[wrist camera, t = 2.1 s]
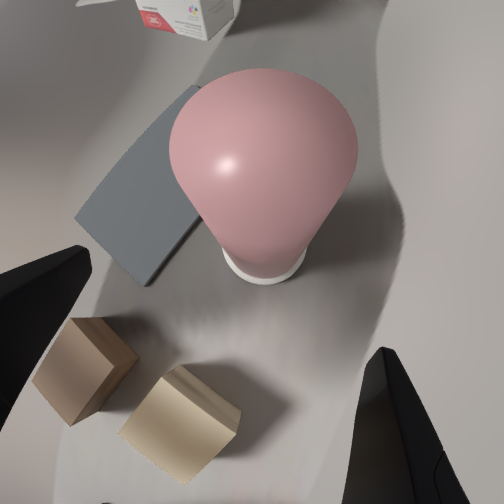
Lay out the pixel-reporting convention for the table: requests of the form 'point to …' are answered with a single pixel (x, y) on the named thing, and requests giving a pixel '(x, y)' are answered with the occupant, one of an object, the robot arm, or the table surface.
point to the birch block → (181, 425)
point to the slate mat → (142, 202)
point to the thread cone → (263, 165)
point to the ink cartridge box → (187, 16)
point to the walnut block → (83, 368)
